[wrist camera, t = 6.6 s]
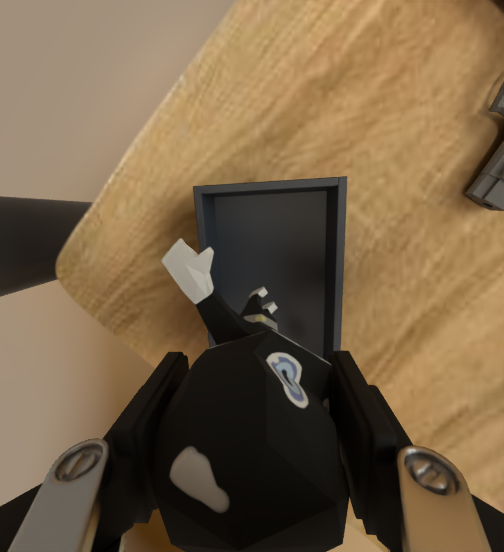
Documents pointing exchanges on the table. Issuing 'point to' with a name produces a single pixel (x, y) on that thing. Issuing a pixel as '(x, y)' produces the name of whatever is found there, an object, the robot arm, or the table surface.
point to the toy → (248, 433)
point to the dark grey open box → (280, 252)
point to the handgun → (491, 171)
